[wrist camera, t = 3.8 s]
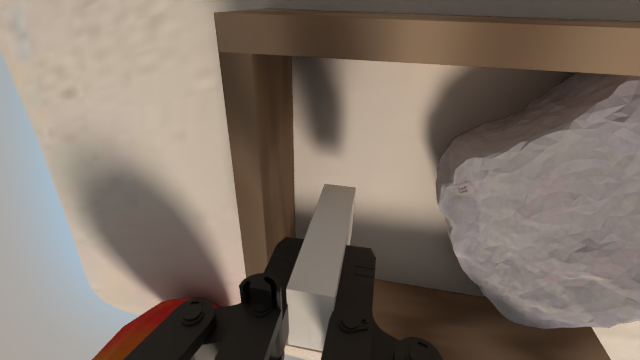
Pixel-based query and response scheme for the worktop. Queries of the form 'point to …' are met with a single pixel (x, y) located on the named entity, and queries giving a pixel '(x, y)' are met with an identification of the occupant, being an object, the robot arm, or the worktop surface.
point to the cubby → (410, 47)
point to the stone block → (552, 205)
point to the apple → (137, 331)
